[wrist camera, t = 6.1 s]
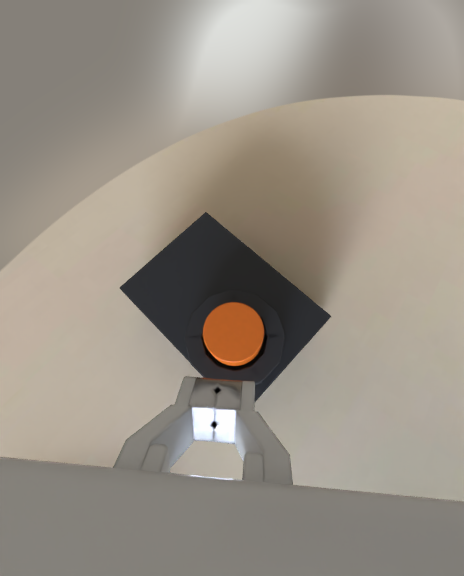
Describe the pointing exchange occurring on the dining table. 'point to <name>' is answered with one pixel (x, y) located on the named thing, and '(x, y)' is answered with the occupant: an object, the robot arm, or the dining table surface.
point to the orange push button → (233, 333)
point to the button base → (223, 301)
